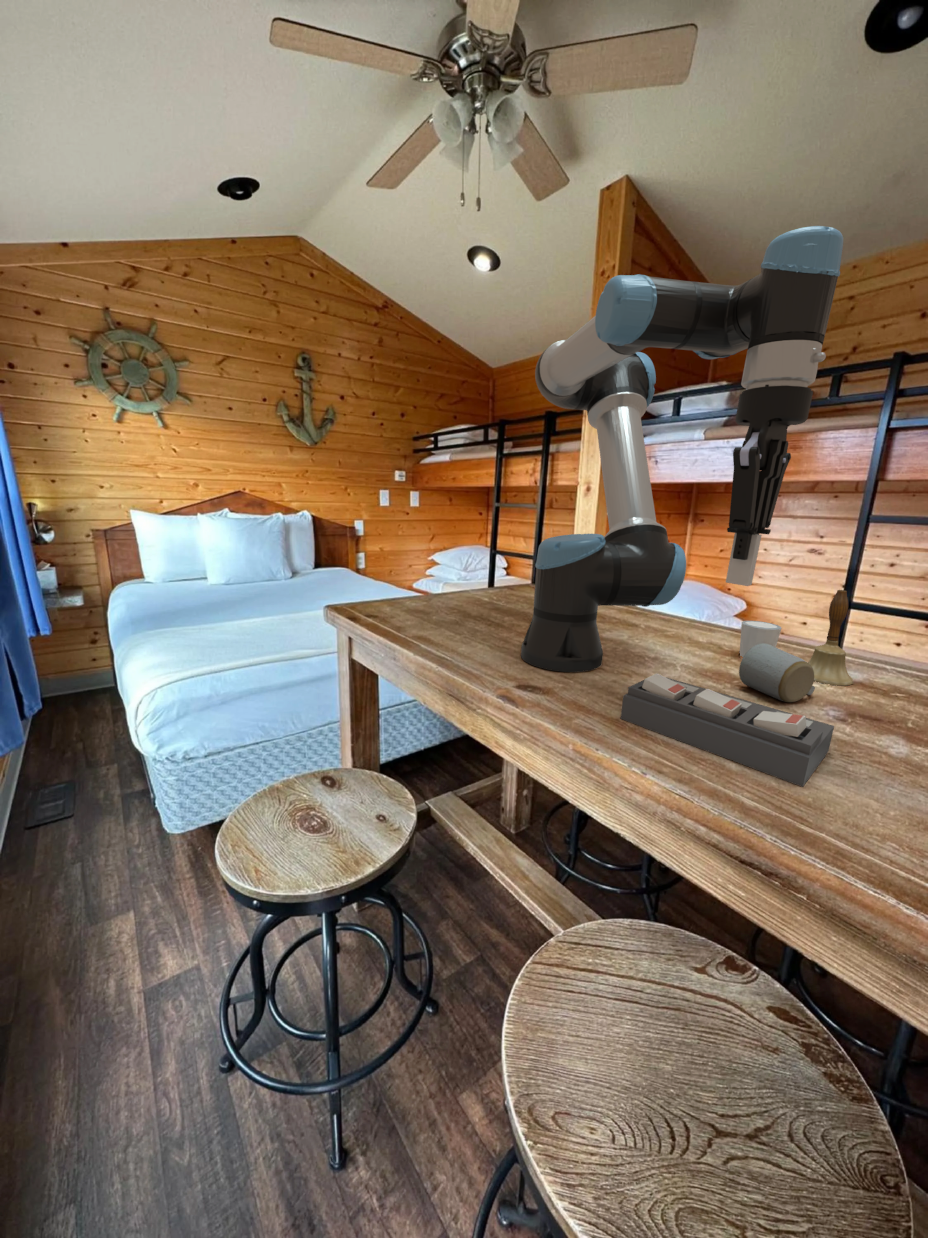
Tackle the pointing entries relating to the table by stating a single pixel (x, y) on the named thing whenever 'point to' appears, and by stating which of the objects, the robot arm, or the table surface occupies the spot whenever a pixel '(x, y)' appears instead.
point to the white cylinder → (758, 635)
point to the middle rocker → (717, 703)
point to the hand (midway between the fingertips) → (738, 583)
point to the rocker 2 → (781, 723)
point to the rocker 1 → (664, 687)
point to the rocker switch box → (730, 732)
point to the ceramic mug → (776, 673)
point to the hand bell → (832, 647)
